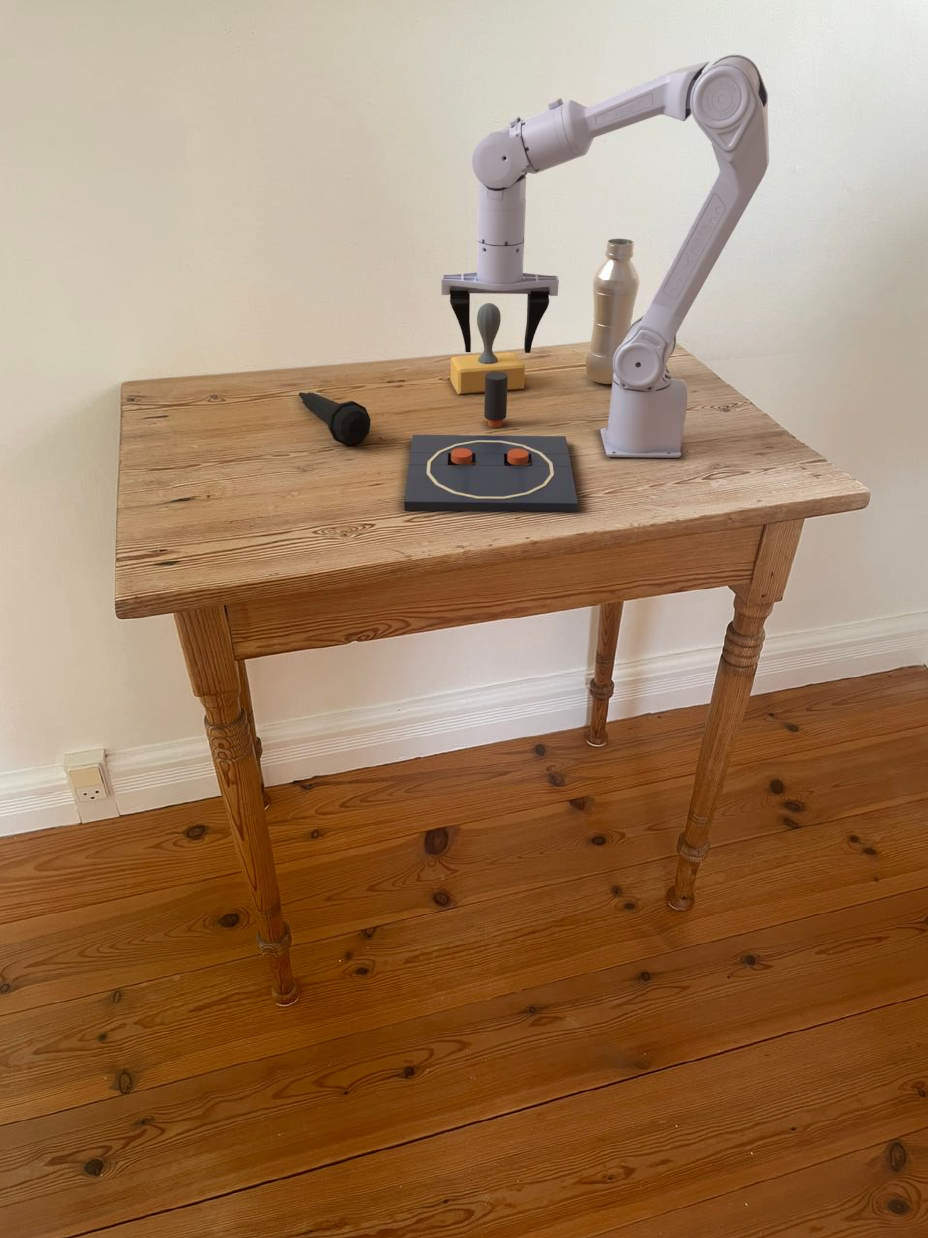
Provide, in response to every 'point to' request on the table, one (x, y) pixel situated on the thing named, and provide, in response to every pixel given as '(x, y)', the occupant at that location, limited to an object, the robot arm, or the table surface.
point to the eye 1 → (461, 456)
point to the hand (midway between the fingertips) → (497, 349)
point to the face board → (490, 475)
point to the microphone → (340, 417)
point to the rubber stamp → (486, 358)
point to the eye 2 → (518, 456)
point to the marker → (495, 398)
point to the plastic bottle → (611, 308)
